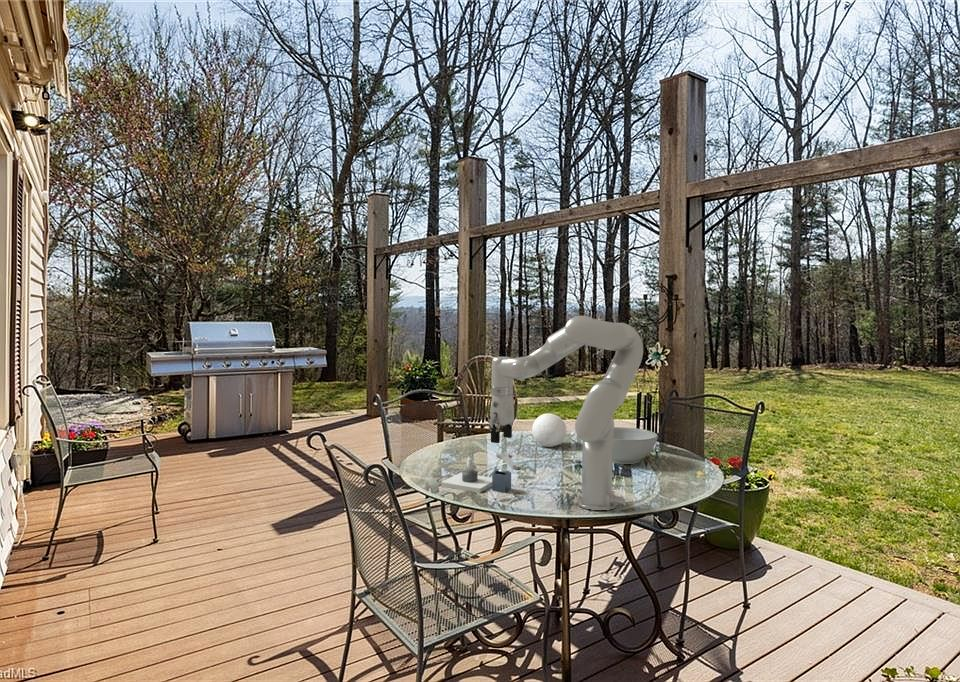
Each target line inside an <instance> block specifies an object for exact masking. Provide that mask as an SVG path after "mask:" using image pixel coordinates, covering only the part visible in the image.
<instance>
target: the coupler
mask: <svg viewBox="0 0 960 682" xmlns="http://www.w3.org/2000/svg"><path fill="white" fill-rule="evenodd" d="M491 478H492V486H491V490H492V491H493V492H498V493H505V494H506V493H507V492H508V491H511V490H512V472H511V471H510V470H502V469H501V470H500V469H499V468H495V469H494V472H492V475H491Z"/></svg>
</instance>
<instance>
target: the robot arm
mask: <svg viewBox="0 0 960 682" xmlns="http://www.w3.org/2000/svg"><path fill="white" fill-rule="evenodd" d="M584 345H585V346H589V347H593V348H597V349H600V350H601V349H603V350H607V351H613V352H614V351H615V353H614V356H613V358H612V360H611V362H610V363H609V366H608V368H607V370H606V373H605V374H604V377H603V378H602V380H600V381H599V382H598V381H597V382H596V383H595V384H594V385H593V386H592V387H591V389H590V390H589V391H588V394H587V396H586V398H585V399H584V402H583V404H582V407H581V409H580V410H579V413H578V415H577V417H576V420H575V423H574V430H575V434H576V435H577V437H578V438H579V439H580V440H581V441H582V449H581V450H582V451H581V452H582V453H581V454H582V455H581V459H582V460H581V463H582V464H581V496H580V497H577V499H576V505H577V506H578V507H580V508H582V509H585V510H588V509H591V510H590V511H594V510H607V511H611V510H610V509H612V510H614V509H616V507H617V505H623V506H624V505H625V503H626V499H625V498H624V497H623V496H619V495H616V494H615V490H613V486H612V485H613V462H612V447H613V435H614V427H615V422H614V420H615V419H614V417H613V416H614V414H615V413H616V410H617V408H619V407H620V406H622V405H623V403H624V402H625V401H626V397H627V395H628V392H629V390H630V388H631V387H632V384H633V381H634V379H635V376H637V375H636V374H637V372H638V370H639V367H640V366H641V363H642V360H643V355H644V345H643V340H642V338H641V336H640V334H639V333H638V332H637V330H636V329H635V328H634V327H633V326H631V324H630V325H629V324H627V323H624V322H611V321H605V320H601V319H595V318H592V317H591V316H590V315H589V316H587V315H575V316H573V317H571V318H570V319H569V320H567V322H566V323H565V325H564V326H563V327H562V328H560V329H559V330H557V331H555V332H553V333H552V334H550V335H549V336H548V337H547V339H546V341H545V343H544V344H543V345H542V346H541V347H540V348H538V349H537V350H534V351H533V352H531V354H529V355H527V356H519V357H510V356H495V357H493V358H492V360H491V397H492V398H491V405H490V418H489V419H488V423H489V428H490V429H489V431H490V443H493V444H499V443H500V441H501V433H500V429H501V426H502V427H503V429H502V431H503V432H502V435H503V438H508V439H511V438H512V439H513V422H514V421H515V408H514V407H515V404H514V380H525V379H528V378H533V377H535V376H537V375H539V374H541V373H542V372H544V371H545V370H547V369H548V368H550V367H551V366H553V365H555V364H556V363H558V362H559V361H561V360H562V359H563V358H565V357H567V356H568V355H570V354H571V353H573V352H574V351H577V350H578V349H580V348H582V347H583V346H584Z"/></svg>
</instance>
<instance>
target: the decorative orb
mask: <svg viewBox="0 0 960 682" xmlns="http://www.w3.org/2000/svg"><path fill="white" fill-rule="evenodd" d="M531 432H532V436H533V439H534V440H535V441H536V443H537V444H538V445H540V446H542V447H545V448H547V447H548V448H553V447H557V446H558V445H560V444H562V442H563V441H564V440H565V438H566V435H567V426H566V422H565V421H564V420H563V418H561V417H560V416H559V415H557V414H554V413H550V412H548V413H543V414H540V415H539V416H537V418H536V419H535V420H534V422H533V424H532V428H531Z"/></svg>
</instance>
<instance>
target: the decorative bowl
mask: <svg viewBox="0 0 960 682" xmlns="http://www.w3.org/2000/svg"><path fill="white" fill-rule="evenodd" d="M658 438H659V436H658V434H657V433H656V432H654V431H651V430H648V429H644V428H643V429H642V428H635V427H626V426H625V427H623V426H621V427H620V426H614V435H613V447H612V464H618V465H624V464H633V465H636V464H635V463H638V462H639V463H640V461H641V460H643V459H644V458H646V457H648V455H650V454H651V452H652V451H653V450H654V449H655V446H656V444H657V441H658ZM639 463H638V464H639Z"/></svg>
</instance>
